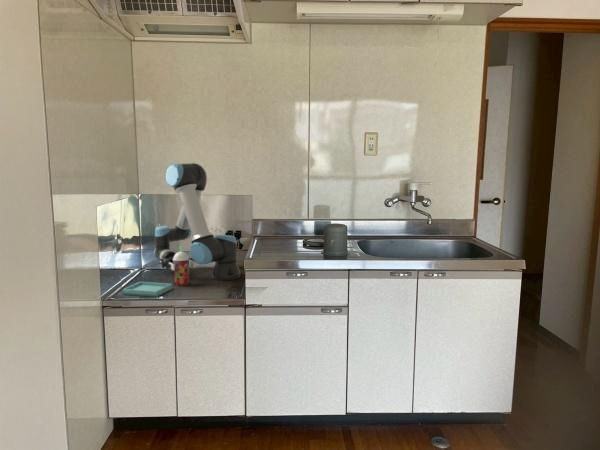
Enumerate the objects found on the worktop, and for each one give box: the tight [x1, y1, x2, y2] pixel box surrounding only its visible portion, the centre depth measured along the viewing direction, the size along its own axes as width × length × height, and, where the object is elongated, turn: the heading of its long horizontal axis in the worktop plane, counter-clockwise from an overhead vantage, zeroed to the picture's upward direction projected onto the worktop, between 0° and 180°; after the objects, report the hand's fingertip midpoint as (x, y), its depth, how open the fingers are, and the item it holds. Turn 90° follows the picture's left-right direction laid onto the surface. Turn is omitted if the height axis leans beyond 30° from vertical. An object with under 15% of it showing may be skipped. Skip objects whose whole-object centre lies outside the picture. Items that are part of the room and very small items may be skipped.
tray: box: [122, 281, 173, 298], centre depth 222 cm, size 18×14×2 cm
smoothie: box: [173, 245, 190, 287], centre depth 232 cm, size 8×8×20 cm
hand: (184, 266), depth 229 cm, fingers open, 10 cm apart
